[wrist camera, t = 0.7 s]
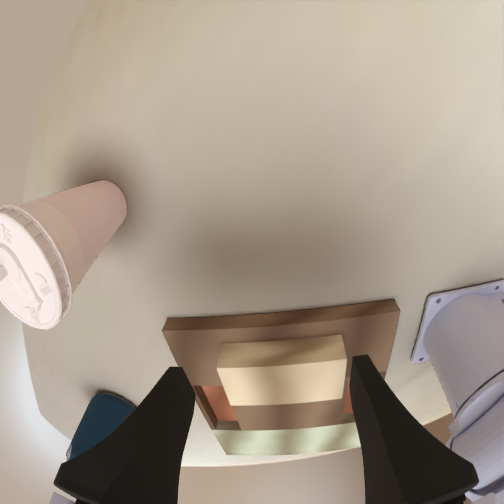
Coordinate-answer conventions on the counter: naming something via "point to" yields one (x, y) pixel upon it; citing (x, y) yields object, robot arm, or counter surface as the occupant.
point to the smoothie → (54, 248)
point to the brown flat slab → (281, 415)
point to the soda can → (99, 422)
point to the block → (283, 371)
